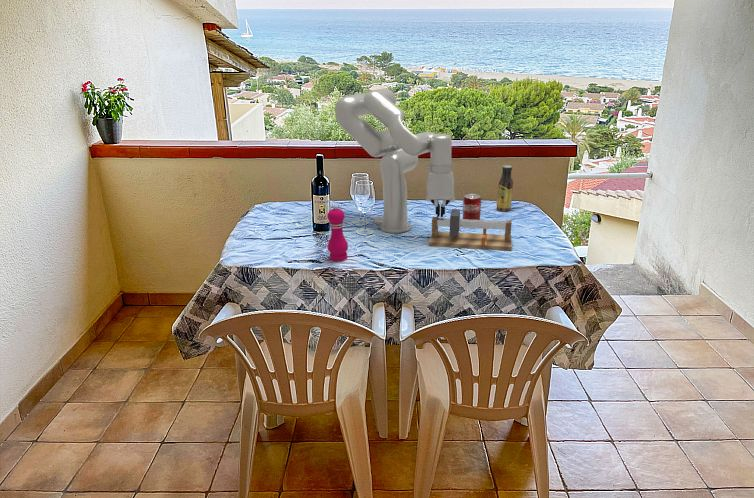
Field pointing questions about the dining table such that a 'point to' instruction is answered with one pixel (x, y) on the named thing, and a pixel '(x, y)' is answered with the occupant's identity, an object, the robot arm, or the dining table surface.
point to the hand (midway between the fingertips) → (440, 215)
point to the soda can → (471, 207)
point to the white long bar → (474, 223)
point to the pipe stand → (471, 239)
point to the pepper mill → (337, 235)
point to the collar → (454, 222)
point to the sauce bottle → (505, 189)
